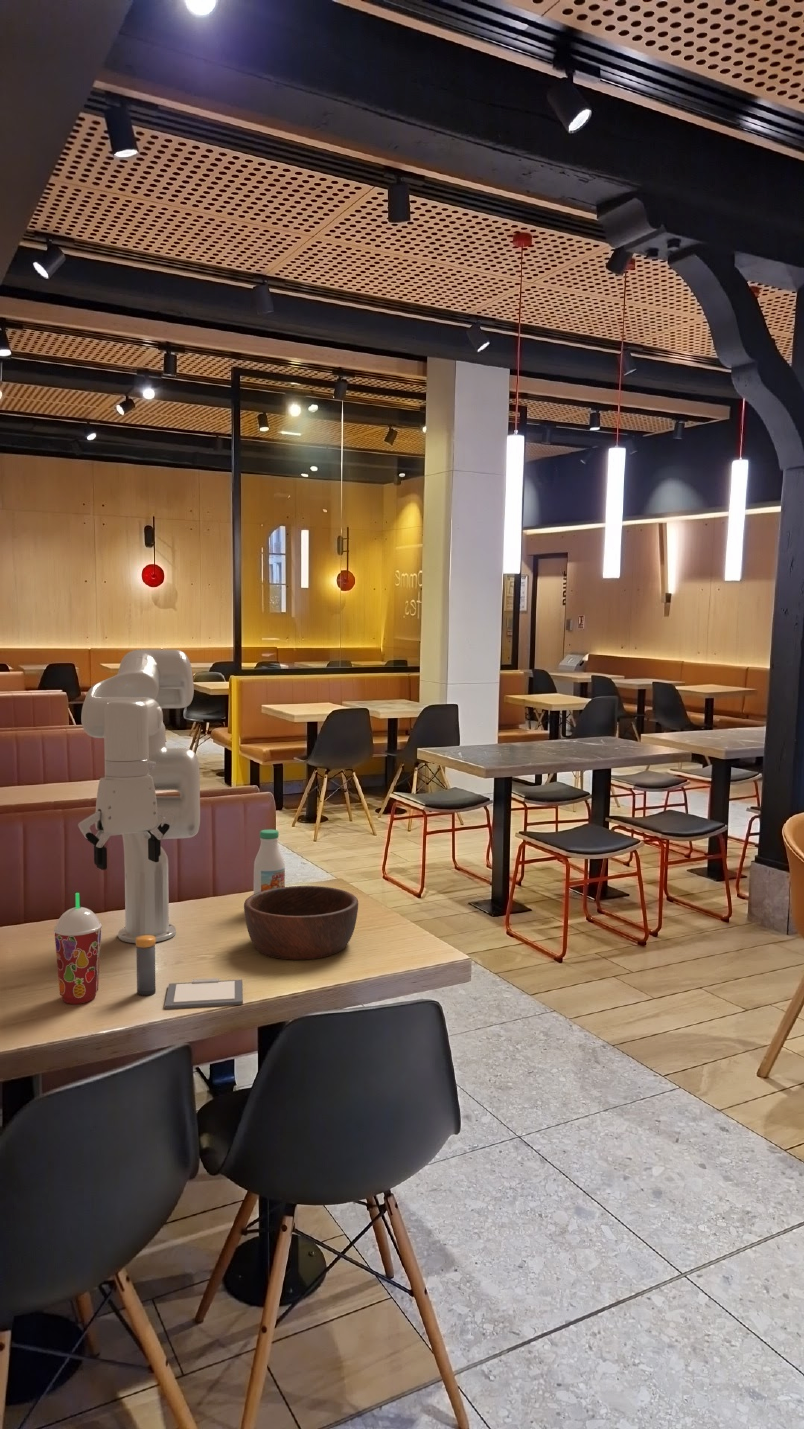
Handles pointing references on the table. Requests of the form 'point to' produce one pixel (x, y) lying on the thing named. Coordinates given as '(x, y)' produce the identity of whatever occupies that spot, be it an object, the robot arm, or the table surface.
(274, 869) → the milk bottle
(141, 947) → the orange topped gray cylinder
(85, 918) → the smoothie
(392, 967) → the table surface
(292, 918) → the wooden bowl
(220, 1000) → the clipboard
